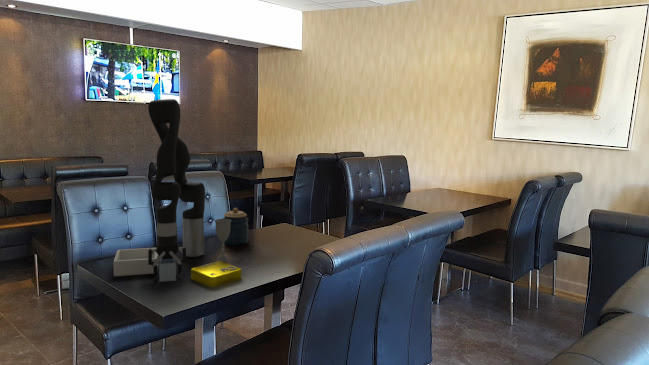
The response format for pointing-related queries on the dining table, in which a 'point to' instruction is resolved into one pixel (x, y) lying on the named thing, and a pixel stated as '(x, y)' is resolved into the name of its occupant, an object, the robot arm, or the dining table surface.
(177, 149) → the robot arm
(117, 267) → the large crate
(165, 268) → the small crate
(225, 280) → the element tile
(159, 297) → the dining table surface
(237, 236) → the canister
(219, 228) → the chalice
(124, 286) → the dining table surface
